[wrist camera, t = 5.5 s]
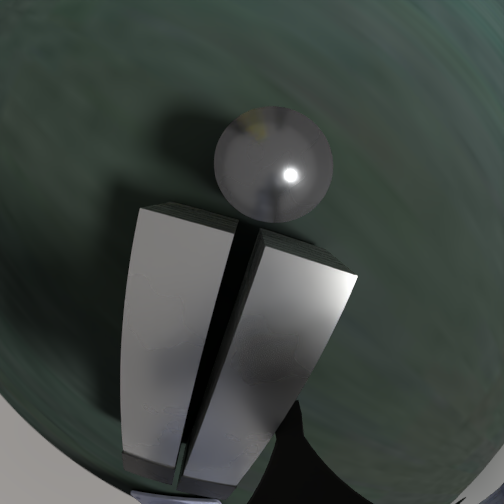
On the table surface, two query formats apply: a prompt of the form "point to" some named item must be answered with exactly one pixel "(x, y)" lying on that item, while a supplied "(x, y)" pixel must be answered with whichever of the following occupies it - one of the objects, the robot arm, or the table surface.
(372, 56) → the table surface
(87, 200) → the table surface
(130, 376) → the tongs fixed arm
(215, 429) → the bar
